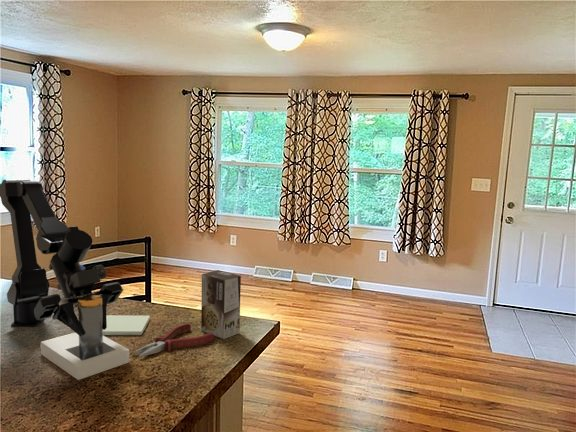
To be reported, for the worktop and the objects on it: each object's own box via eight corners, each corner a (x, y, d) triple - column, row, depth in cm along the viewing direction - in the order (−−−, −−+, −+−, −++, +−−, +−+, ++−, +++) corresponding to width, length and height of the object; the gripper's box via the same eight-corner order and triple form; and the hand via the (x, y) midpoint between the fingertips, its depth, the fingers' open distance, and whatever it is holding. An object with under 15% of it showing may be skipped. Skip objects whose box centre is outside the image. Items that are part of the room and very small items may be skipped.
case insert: (41, 354, 110) (40, 341, 110) (90, 339, 119) (90, 328, 119) (78, 380, 99) (77, 366, 99) (129, 362, 108) (129, 349, 108)
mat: (94, 335, 123) (94, 331, 122) (106, 318, 134) (106, 315, 134) (141, 335, 124) (141, 331, 124) (150, 318, 136) (150, 315, 136)
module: (76, 367, 105) (74, 301, 103) (83, 357, 109) (82, 295, 108) (99, 367, 105) (98, 302, 103) (105, 357, 110) (104, 295, 108)
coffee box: (240, 333, 128) (242, 275, 126) (223, 339, 123) (224, 279, 121) (217, 324, 134) (218, 269, 131) (199, 330, 129) (200, 273, 126)
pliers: (121, 352, 114) (121, 342, 114) (187, 330, 130) (187, 321, 129) (150, 367, 107) (150, 356, 107) (215, 342, 123) (216, 332, 122)
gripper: (37, 260, 99) (63, 325, 94) (118, 249, 114) (145, 304, 108) (23, 289, 105) (46, 350, 100) (102, 274, 120) (126, 328, 114)
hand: (93, 332), depth 105 cm, fingers open, 5 cm apart
